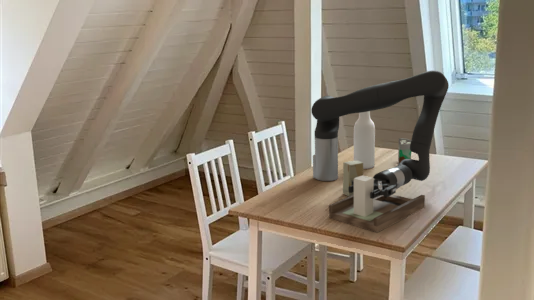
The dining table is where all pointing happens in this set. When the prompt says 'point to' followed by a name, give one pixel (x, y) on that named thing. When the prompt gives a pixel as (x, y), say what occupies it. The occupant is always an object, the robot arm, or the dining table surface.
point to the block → (363, 195)
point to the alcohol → (364, 140)
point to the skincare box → (351, 174)
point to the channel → (377, 211)
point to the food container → (404, 149)
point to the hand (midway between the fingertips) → (360, 192)
